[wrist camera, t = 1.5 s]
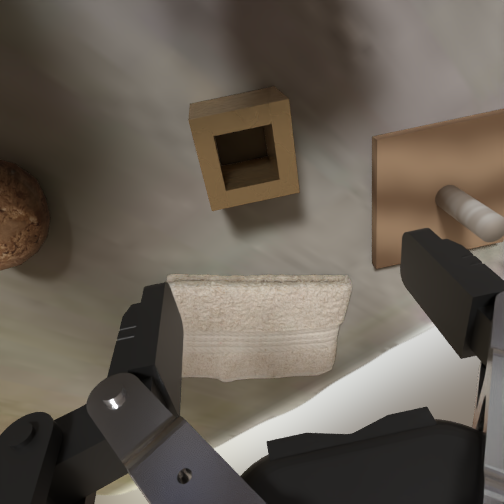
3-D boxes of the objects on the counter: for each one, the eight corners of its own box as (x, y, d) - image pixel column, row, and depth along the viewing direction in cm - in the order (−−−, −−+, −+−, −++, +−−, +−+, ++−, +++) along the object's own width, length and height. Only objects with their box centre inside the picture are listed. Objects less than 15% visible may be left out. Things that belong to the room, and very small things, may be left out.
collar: (190, 103, 26) (188, 120, 22) (274, 86, 26) (289, 98, 22) (210, 183, 29) (212, 211, 25) (285, 167, 29) (299, 192, 25)
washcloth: (158, 269, 33) (155, 290, 31) (350, 267, 36) (362, 286, 33) (165, 362, 40) (162, 387, 37) (328, 355, 42) (337, 377, 40)
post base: (372, 136, 29) (416, 166, 23) (523, 104, 29) (606, 126, 23) (372, 262, 35) (407, 311, 29) (495, 236, 36) (555, 279, 30)
